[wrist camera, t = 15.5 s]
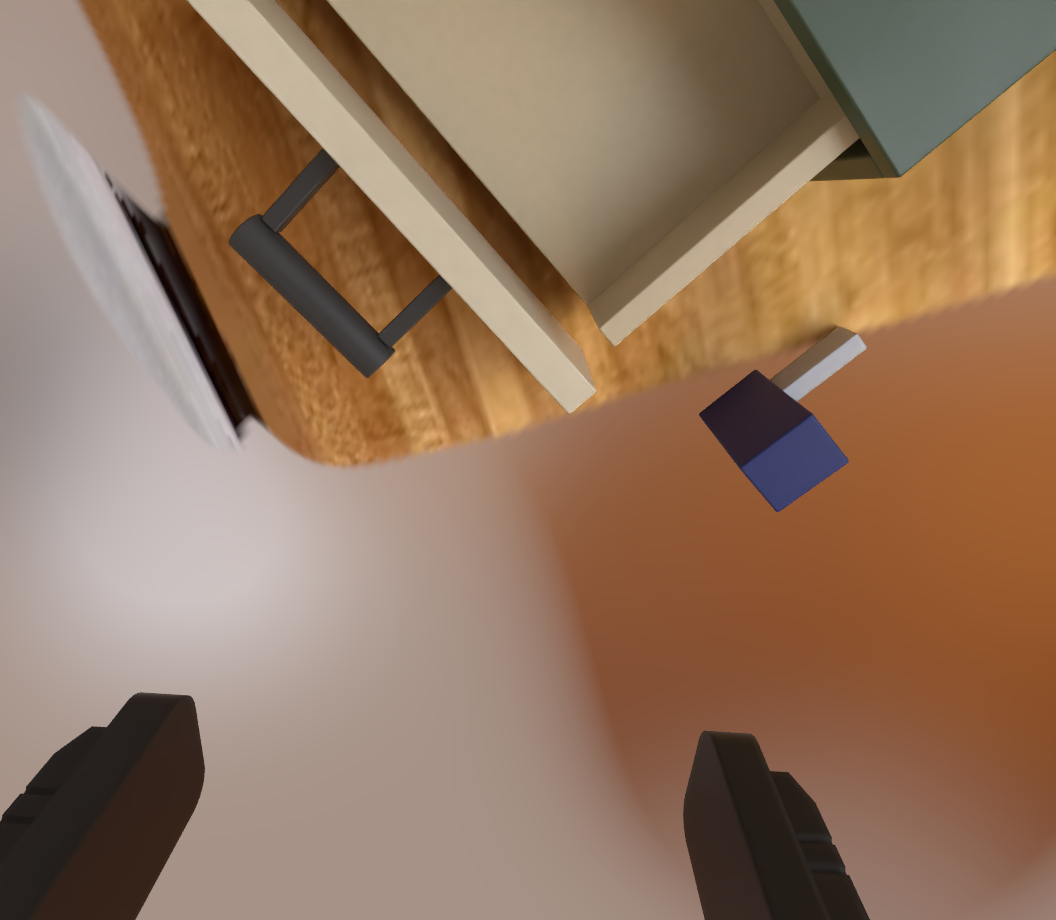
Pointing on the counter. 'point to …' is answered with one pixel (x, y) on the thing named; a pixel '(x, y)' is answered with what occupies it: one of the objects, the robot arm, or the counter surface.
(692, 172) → the drawer
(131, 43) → the counter surface
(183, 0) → the counter surface
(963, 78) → the cabinet
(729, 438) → the blue block with post
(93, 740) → the robot arm
